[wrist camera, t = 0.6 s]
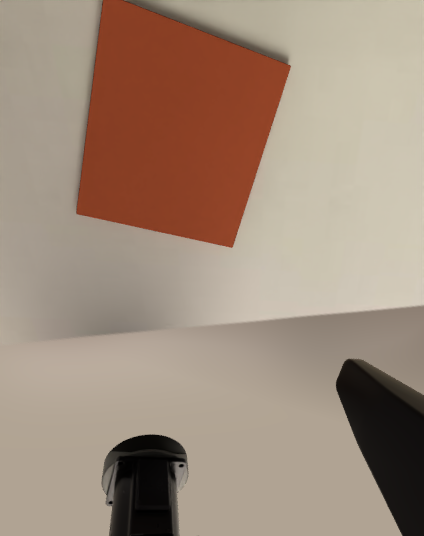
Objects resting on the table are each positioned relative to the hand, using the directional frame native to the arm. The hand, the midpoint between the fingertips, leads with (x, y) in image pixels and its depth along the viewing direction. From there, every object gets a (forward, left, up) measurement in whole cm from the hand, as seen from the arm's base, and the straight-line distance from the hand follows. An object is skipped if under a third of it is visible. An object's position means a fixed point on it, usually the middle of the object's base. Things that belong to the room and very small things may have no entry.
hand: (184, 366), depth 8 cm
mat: (+5, 0, -14) cm, 15 cm away
